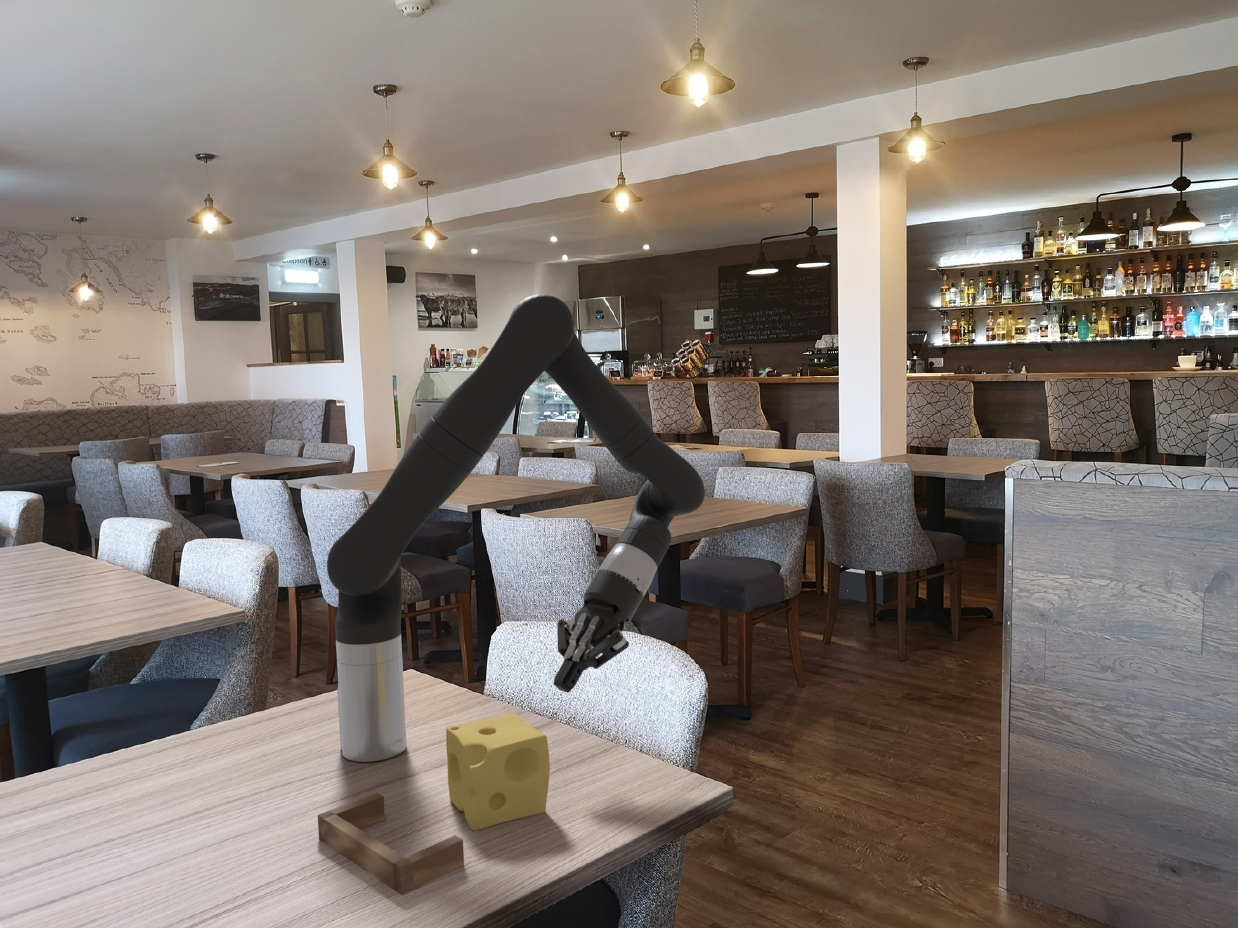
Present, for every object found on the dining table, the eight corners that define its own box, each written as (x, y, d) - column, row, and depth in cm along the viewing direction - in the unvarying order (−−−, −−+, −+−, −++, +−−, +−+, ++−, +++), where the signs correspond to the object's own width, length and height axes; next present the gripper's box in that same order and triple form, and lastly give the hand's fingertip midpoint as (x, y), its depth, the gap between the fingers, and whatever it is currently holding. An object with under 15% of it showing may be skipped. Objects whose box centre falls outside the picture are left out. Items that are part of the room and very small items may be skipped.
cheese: (472, 833, 111) (468, 752, 110) (445, 798, 120) (442, 724, 120) (552, 812, 116) (549, 735, 115) (520, 781, 125) (517, 709, 124)
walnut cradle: (319, 838, 110) (317, 814, 110) (378, 815, 116) (377, 792, 116) (401, 894, 98) (400, 867, 97) (464, 865, 103) (462, 839, 103)
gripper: (575, 562, 135) (513, 665, 127) (641, 573, 126) (578, 684, 118) (602, 591, 139) (544, 692, 132) (668, 604, 130) (609, 713, 122)
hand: (560, 688), depth 125 cm, fingers closed
